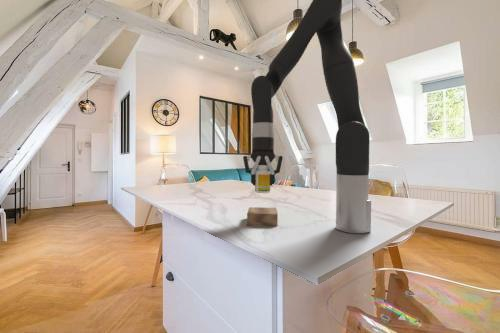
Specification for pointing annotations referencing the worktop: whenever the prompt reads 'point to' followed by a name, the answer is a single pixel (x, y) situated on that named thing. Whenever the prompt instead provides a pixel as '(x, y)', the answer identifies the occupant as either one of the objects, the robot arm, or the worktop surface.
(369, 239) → the worktop surface
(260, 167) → the supplement bottle
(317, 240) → the worktop surface
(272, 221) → the walnut block
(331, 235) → the worktop surface
